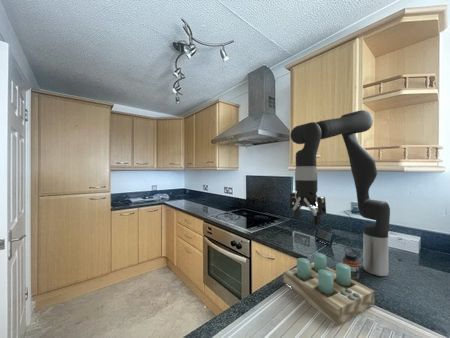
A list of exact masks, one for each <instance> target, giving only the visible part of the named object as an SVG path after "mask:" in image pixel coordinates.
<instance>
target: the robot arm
mask: <svg viewBox="0 0 450 338" xmlns="http://www.w3.org/2000/svg"><path fill="white" fill-rule="evenodd" d="M373 119H374V118H373V115H372V114H371V112H370V111H368V110H364V109H361V110H356V111H352V112H349V113H345V114H343V115H341V116H340V117H337V118H330V119H325V120H319V121H316V122H314V121H312V122H307V123H303V124H299V125H297V126H296V125H295V126H294V127H293V128H292V129H291V132H290V139H291V141H292V142H293V143H295V144H296V145H303V147H302V148H301V149H300V150H298V151H296V152H295V169H294V170H295V172H294V186H295V187H294V190H295V192H290V193H289V208H291V209H292V210H293V218H294V221H300V220H301V210H300V209H301V208H302V207H305V208H308V209H309V211H311V212H312V215H313V221H312V222H313V227H315V228H316V227H319V226H320V225H321V223H322V221H321V220H322V219H321V216H323V215H326V214H327V206H326V205H327V204H326V203H327V202H326V197H325V196H317V193H318V170H317V169H318V168H317V153H318V150H319V147H320V143H321V140H326V139H329V138H334V137H337V136H339V135H341V136H342V140H343V142H344V145H345V148H346V151H347V155H348V161H349V164H350V169H351V174H352V178H353V181H354V186H355V190H356V191H355V192H356V199H357V209H358V213H359V214H360V216H361V217H362V218H365V219H368V220H372V221H373V220H374V221H375V224H371V225H370V224H369V225H365V226H363V228H362V230H363V231H362V234H363V235H362V237H363V238H362V239H363V240H362V243H363V247H362V251H363V252H362V254H363V256H362V257H363V260H362V261H363V263H362V264H363V265H362V266H363V267H362V268H363V270H365V272H367V273H369V274H371V275H375V276H377V277H387V276H389V230H390V219H391V218H390V217H391V207H390V205H389V203H388V202H387V201H384V200H377V199H376V200H375V199H371V198H370V193H369V192H370V188H371V187H372V184H373V183H374V181H375V179H376V178H377V175H378V170H377V165H376V161H375V159H374V157H373V155H372V154H371V153H370V152H369V151H368V150H366V149H365V147H363V146H362V145H361V143H360V141H359V140H358V137H357V135H356V134H360V133H364V132H368V131H369V130H370V129H371V128H372V127H373V123H374V120H373Z"/></svg>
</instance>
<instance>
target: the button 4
mask: <svg viewBox="0 0 450 338" xmlns="http://www.w3.org/2000/svg"><path fill="white" fill-rule="evenodd" d="M335 271H336V281H337V282H338V283H339V284H341V285H345V286H349V285H351V267H350V266H349V265H346V264H343V262H337V263H335Z"/></svg>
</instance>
